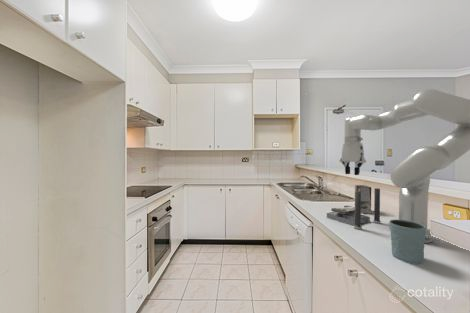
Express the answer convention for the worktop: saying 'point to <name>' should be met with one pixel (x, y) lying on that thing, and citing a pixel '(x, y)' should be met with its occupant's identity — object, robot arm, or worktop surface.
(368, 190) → the coffee box
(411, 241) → the teal green cup
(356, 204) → the dark grey rod
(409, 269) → the worktop surface
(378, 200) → the dark grey post
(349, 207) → the block
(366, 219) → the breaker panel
